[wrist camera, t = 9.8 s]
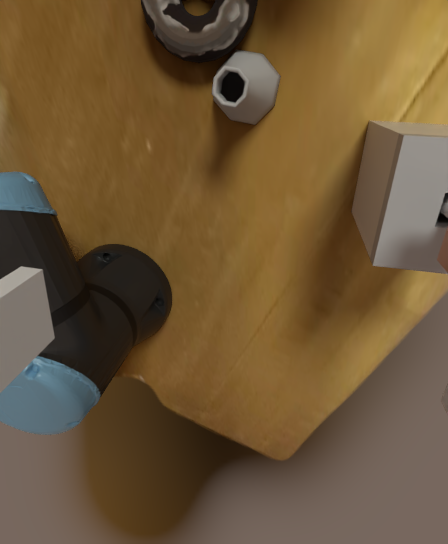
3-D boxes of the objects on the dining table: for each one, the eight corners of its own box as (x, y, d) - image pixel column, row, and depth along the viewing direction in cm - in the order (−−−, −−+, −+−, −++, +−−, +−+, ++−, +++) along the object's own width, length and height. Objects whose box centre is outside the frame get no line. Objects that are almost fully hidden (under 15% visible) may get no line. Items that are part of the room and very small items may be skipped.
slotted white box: (442, 219, 42) (508, 280, 28) (351, 211, 43) (372, 265, 30) (471, 125, 37) (567, 144, 24) (369, 120, 39) (403, 135, 25)
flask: (292, 72, 39) (289, 65, 30) (258, 136, 42) (246, 147, 33) (232, 35, 38) (211, 19, 29) (203, 103, 42) (176, 106, 33)
